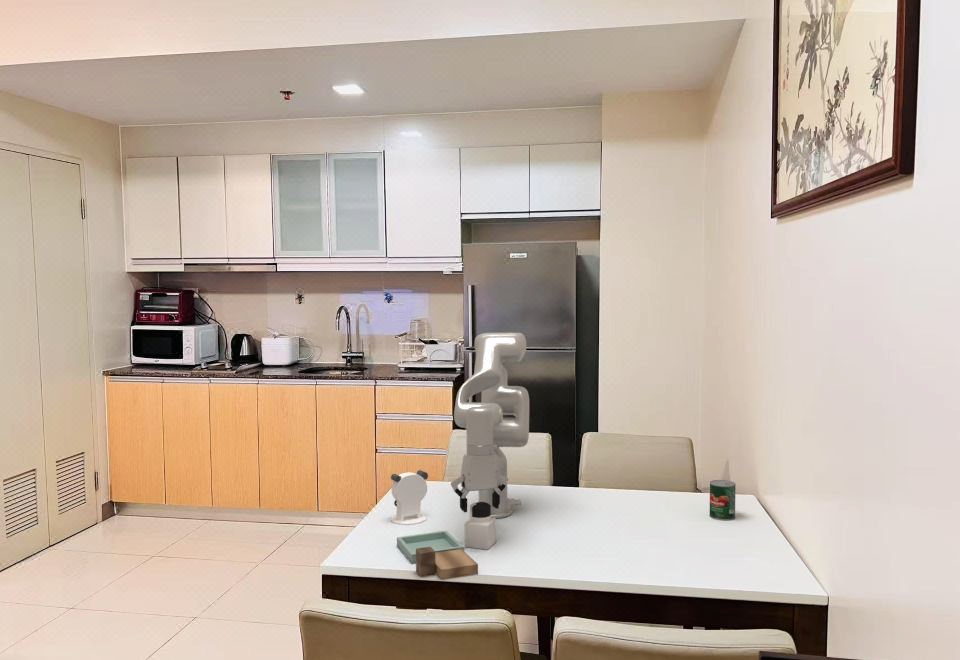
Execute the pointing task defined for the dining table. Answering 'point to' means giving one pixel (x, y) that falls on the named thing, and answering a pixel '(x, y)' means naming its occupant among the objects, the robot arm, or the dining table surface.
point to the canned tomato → (722, 500)
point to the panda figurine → (409, 497)
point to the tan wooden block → (454, 564)
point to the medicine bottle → (480, 527)
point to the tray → (427, 543)
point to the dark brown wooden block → (425, 561)
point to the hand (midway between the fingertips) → (480, 509)
